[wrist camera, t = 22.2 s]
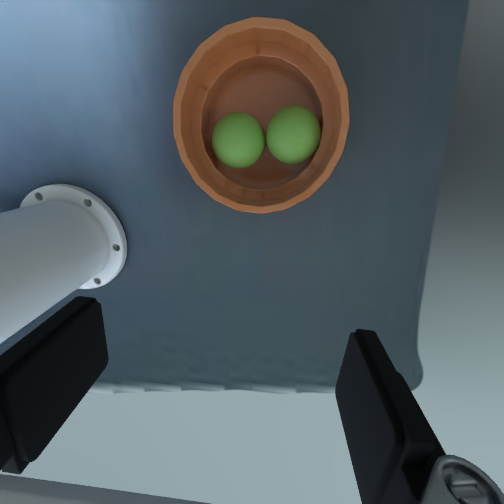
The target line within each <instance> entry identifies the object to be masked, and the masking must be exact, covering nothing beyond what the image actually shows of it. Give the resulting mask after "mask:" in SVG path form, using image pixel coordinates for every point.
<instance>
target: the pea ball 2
mask: <svg viewBox="0 0 504 504" xmlns="http://www.w3.org/2000/svg"><path fill="white" fill-rule="evenodd" d="M320 135H321V130H320V124H319V121H318V119H317V117H316V116H315V114H314V113H313V112H312V111H311V110H309V109H308V108H306V107H304V106H300V105H290V106H286V107H284V108H282V109H280V110H279V111H277V112H276V113H275V114H274V116H273V117H272V118H271V120H270V122H269V124H268V127H267V131H266V141H267V145H268V148H269V150H270V152H271V153H272V154H273V156H274V157H275V158H277V159H278V160H280V161H282V162H284V163H289V164H294V163H299V162H302V161H304V160H306V159H307V158H309V157H310V156H311V155H312V154H313V153H314V151H315V150H316V148H317V146H318V144H319V141H320Z"/></svg>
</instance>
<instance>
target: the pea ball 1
mask: <svg viewBox="0 0 504 504" xmlns="http://www.w3.org/2000/svg"><path fill="white" fill-rule="evenodd" d="M264 144H265V137H264V132H263V129H262V127H261V125H260V124H259V122H258V121H257V120H256V119H255V118H254V117H253V116H251V115H249V114H247V113H244V112H232V113H229V114H227V115H225V116H223V117H222V118H221V119H220V120H219V121H218V122H217V124H216V126H215V128H214V130H213V134H212V145H213V149H214V152H215V154H216V156H217V157H218V158H219V160H220V161H221V162H222V163H224V164H225V165H227V166H229V167H232V168H237V169H241V168H246V167H249V166H251V165H252V164H254V163H255V162H256V161H257V160H258V159H259V158H260V156H261V154H262V152H263V149H264Z"/></svg>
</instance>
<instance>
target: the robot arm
mask: <svg viewBox="0 0 504 504" xmlns="http://www.w3.org/2000/svg"><path fill="white" fill-rule="evenodd" d="M126 256H127V241H126V237H125V233H124V230H123V228H122V225H121V223H120V221H119V220H118V218H117V217H116V215H115V213H114V212H113V211H112V210H111V209H110V208H109V206H108V205H107V204H106V203H104V202H103V201H102V200H101V199H100V198H99V197H97V196H96V195H94V194H92V193H91V192H89V191H87V190H85V189H83V188H80V187H78V186H74V185H69V184H52V185H46V186H43V187H40V188H37V189H35V190H33V191H32V192H30V193H29V194H28V195H27V196H26V197H25V198H24V199H23V201H22V203H21V205H20V207H19V208H18V209H14V210H10V211H6V212H2V213H0V343H2V342H3V341H5V340H6V339H7V338H9V337H10V336H12V335H13V334H14V333H16V332H17V331H19V330H20V329H21V328H23V327H24V326H26V325H27V324H28V323H30V322H31V321H33V320H34V319H35V318H37V317H38V316H40V315H41V314H42V313H44V312H45V311H47V310H48V309H49V308H51V307H52V306H53V305H55V304H56V303H58V302H59V301H60V300H62V299H63V298H65V297H66V296H67V295H69V294H70V293H72V292H73V291H74V290H76V289H77V288H78V289H92V288H97V287H100V286H103V285H105V284H106V283H108V282H110V281H111V280H112V279H113V278H115V277H116V276H117V275H118V274H119V272H120V271H121V270H122V268H123V266H124V263H125V261H126ZM107 363H108V351H107V344H106V337H105V330H104V323H103V316H102V309H101V304H100V303H99V302H97V300H96V299H95V298H91V297H83V296H78V297H76V298H74V299H73V300H72V301H70V302H69V303H68V304H67V305H65V306H64V307H63V308H61V309H60V310H59V311H57V312H56V313H55V314H54V315H52V316H51V317H50V318H48V319H47V320H46V321H44V322H43V323H42V324H41V325H39V326H38V327H37V328H35V329H34V330H33V331H32V332H30V333H29V334H28V335H26V336H25V337H24V338H22V339H21V340H20V341H19V342H17V343H16V344H15V345H13V346H12V347H11V348H10V349H8V350H7V351H6V352H4V353H3V354H2V355H0V470H2V472H8V473H15V474H21V473H22V472H23V470H24V469H25V468H26V466H27V465H28V464H29V463H30V462H32V461H34V460H36V459H37V457H39V455H40V454H41V453H42V451H43V450H44V449H45V447H46V446H47V445H48V443H49V442H50V441H51V439H52V438H53V437H54V435H55V434H56V433H57V431H58V430H59V429H60V427H61V426H62V425H63V424H64V422H65V421H66V419H67V418H68V417H69V416H70V414H71V413H72V412H73V410H74V409H75V408H76V406H77V405H78V403H79V402H80V401H81V399H82V398H83V397H84V396H85V394H86V393H87V392H88V390H89V389H90V388H91V386H92V385H93V384H94V382H95V381H96V380H97V378H98V377H99V376H100V374H101V373H102V372H103V370H104V369H105V368H106V366H107ZM335 394H336V399H337V404H338V408H339V412H340V416H341V420H342V424H343V428H344V432H345V436H346V440H347V444H348V448H349V452H350V457H351V461H352V465H353V469H354V473H355V477H356V481H357V485H358V489H359V493H360V497H361V501H362V504H504V494H503V493H502V491H501V490H500V488H499V487H498V486H497V484H496V483H495V482H494V481H493V480H492V479H491V478H490V477H489V476H488V475H487V474H486V473H485V472H483V471H482V470H481V469H480V468H478V467H477V466H476V465H474V464H473V463H471V462H469V461H467V460H465V459H464V458H461V457H458V456H454V455H446V454H445V452H444V450H443V448H442V446H441V444H440V443H439V441H438V439H437V437H436V435H435V434H434V432H433V430H432V428H431V427H430V425H429V423H428V421H427V420H426V418H425V416H424V414H423V412H422V410H421V409H420V407H419V405H418V403H417V401H416V399H415V398H414V396H413V394H412V392H411V391H410V389H409V387H408V385H407V383H406V382H405V380H404V378H403V377H402V375H401V374H400V373H398V372H397V371H396V369H395V368H394V366H393V364H392V362H391V360H390V358H389V356H388V355H387V353H386V351H385V349H384V347H383V345H382V344H381V342H380V340H379V338H378V336H377V334H376V333H375V331H372V330H363V329H357V330H356V331H355V333H354V332H352V333H351V334H350V336H349V340H348V344H347V347H346V351H345V355H344V358H343V362H342V366H341V369H340V373H339V377H338V380H337V384H336V390H335ZM0 504H209V503H203V502H196V501H189V500H182V499H175V498H168V497H161V496H153V495H147V494H140V493H133V492H126V491H119V490H112V489H105V488H98V487H91V486H84V485H77V484H69V483H62V482H55V481H47V480H40V479H33V478H26V477H18V476H11V475H3V474H0Z"/></svg>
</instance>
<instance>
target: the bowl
mask: <svg viewBox="0 0 504 504" xmlns="http://www.w3.org/2000/svg"><path fill="white" fill-rule="evenodd" d="M290 105H300V106H304V107H306V108H308V109H309V110H311V111H312V112H313V113H314V114H315V116H316V117H317V119H318V121H319V124H320V130H321V135H320V141H319V144H318V146H317V148H316V150H315V151H314V153H313V154H312V155H311V156H310V157H309V158H307V159H306V160H304V161H302V162H299V163H294V164H289V163H284V162H282V161H280V160H278V159H277V158H275V157H274V156H273V154H272V153H271V152H270V150H269V148H268V145H267V141H266V131H267V127H268V124H269V122H270V120H271V118H272V117H273V116H274V114H275V113H276V112H277V111H279V110H280V109H282V108H284V107H286V106H290ZM232 112H244V113H247V114H249V115H251V116H253V117H254V118H255V119H256V120H257V121H258V122H259V124H260V125H261V127H262V129H263V132H264V137H265V144H264V149H263V152H262V154H261V156H260V158H259V159H258V160H257V161H256V162H255V163H254V164H252V165H251V166H249V167H246V168H241V169H237V168H232V167H229V166H227V165H225V164H224V163H222V162H221V161H220V160H219V158H218V157H217V156H216V154H215V152H214V149H213V145H212V134H213V130H214V128H215V126H216V124H217V122H218V121H219V120H220V119H221V118H222V117H223V116H225V115H227V114H229V113H232ZM349 121H350V115H349V101H348V90H347V86H346V84H345V81H344V79H343V76H342V74H341V71H340V69H339V66H338V64H337V61H336V59H335V58H334V56H333V55H332V54H331V53H330V52H329V51H328V50H327V48H326V47H325V46H324V45H323V44H322V43H321V41H320V40H319V39H318V38H317V37H316V36H315V35H314V34H313V33H311V32H309V31H307V30H305V29H303V28H301V27H299V26H298V25H296V24H294V23H292V22H290V21H288V20H285V19H277V18H267V17H256V16H255V17H251V18H247V19H244V20H241V21H237V22H234V23H231V24H227V25H225V26H223V27H222V28H220V29H219V30H218V31H217V32H215V33H214V34H213V35H211V36H210V37H209V38H208V39H206V40H205V41H204V42H202V43H201V44H200V46H198V48H197V49H196V51H195V52H194V54H193V55H192V57H191V58H190V60H189V61H188V63H187V64H186V66H185V67H184V69H183V70H182V72H181V75H180V79H179V82H178V86H177V89H176V93H175V96H174V100H173V133H174V137H175V140H176V144H177V147H178V151H179V154H180V158H181V159H182V162H183V164H184V165H185V167H186V168H187V170H188V172H189V173H190V175H191V176H192V178H193V180H194V181H195V182H196V184H197V185H198V186H200V187H201V188H202V189H203V190H204V191H205V192H206V193H207V194H208V195H210V196H211V197H212V198H213V199H214V200H216V201H218V202H220V203H222V204H224V205H226V206H229V207H231V208H233V209H235V210H238V211H245V212H252V213H260V214H261V213H268V212H274V211H279V210H285V209H288V208H290V207H291V206H293V205H295V204H297V203H299V202H301V201H303V200H305V199H307V198H309V197H310V196H311V195H312V194H313V193H314V192H315V191H316V190H317V189H318V188H319V187H320V186H321V185H322V184H323V183H324V182H325V181H326V180H327V179H328V178H329V177H330V175H331V173H332V171H333V170H334V168H335V166H336V164H337V162H338V160H339V159H340V157H341V155H342V153H343V151H344V146H345V141H346V137H347V132H348V128H349V123H350V122H349Z"/></svg>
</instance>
